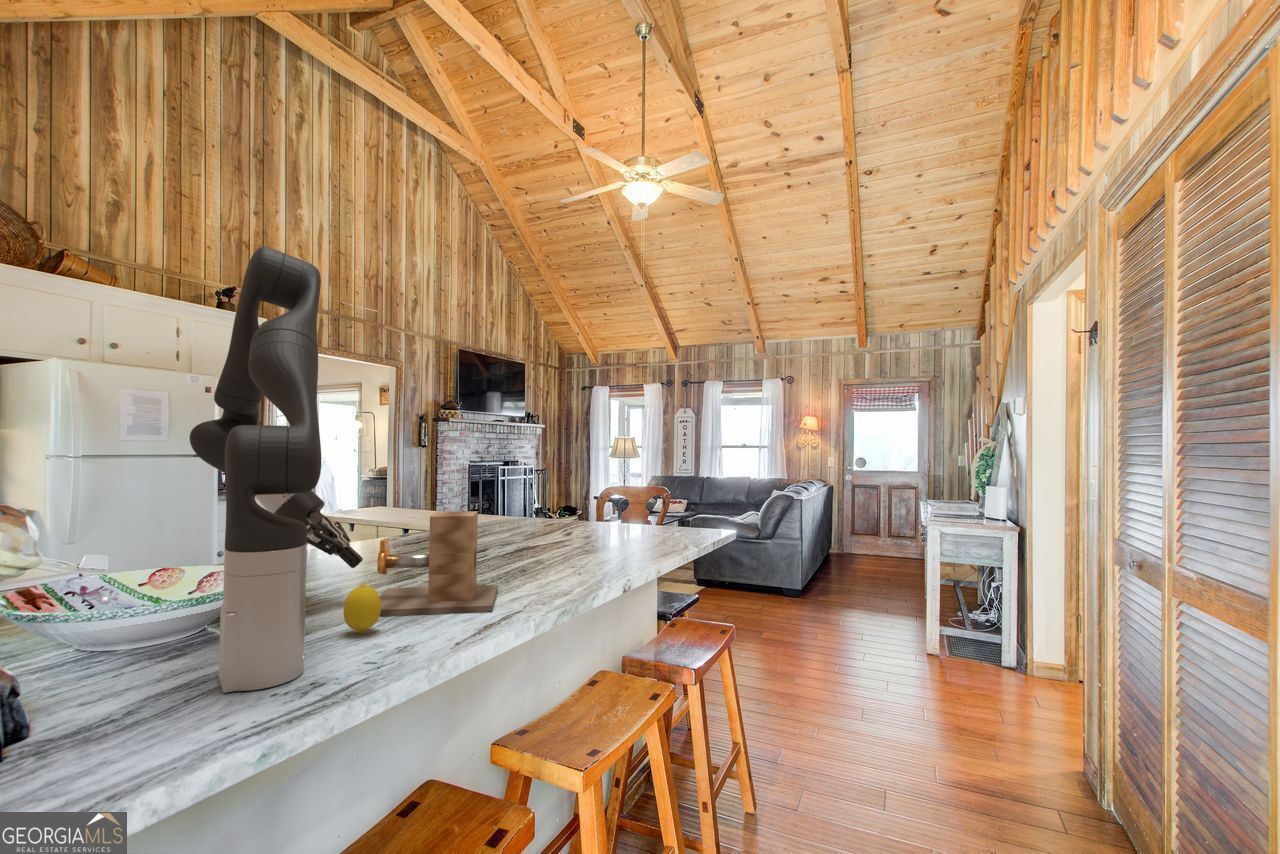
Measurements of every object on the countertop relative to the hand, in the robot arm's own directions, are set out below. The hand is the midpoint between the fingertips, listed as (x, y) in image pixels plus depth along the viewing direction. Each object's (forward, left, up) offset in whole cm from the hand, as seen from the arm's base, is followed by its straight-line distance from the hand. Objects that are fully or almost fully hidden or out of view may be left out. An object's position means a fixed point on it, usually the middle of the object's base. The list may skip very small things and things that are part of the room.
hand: (358, 564), depth 111 cm
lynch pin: (+9, -5, -2) cm, 10 cm away
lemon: (-4, -18, -8) cm, 20 cm away
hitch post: (+13, -7, -8) cm, 16 cm away
